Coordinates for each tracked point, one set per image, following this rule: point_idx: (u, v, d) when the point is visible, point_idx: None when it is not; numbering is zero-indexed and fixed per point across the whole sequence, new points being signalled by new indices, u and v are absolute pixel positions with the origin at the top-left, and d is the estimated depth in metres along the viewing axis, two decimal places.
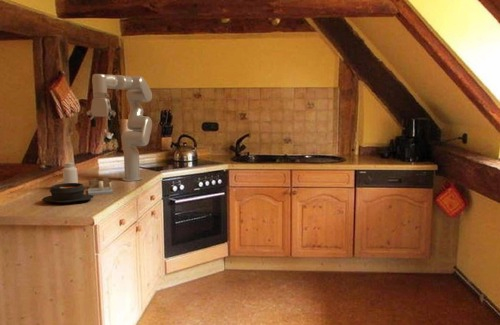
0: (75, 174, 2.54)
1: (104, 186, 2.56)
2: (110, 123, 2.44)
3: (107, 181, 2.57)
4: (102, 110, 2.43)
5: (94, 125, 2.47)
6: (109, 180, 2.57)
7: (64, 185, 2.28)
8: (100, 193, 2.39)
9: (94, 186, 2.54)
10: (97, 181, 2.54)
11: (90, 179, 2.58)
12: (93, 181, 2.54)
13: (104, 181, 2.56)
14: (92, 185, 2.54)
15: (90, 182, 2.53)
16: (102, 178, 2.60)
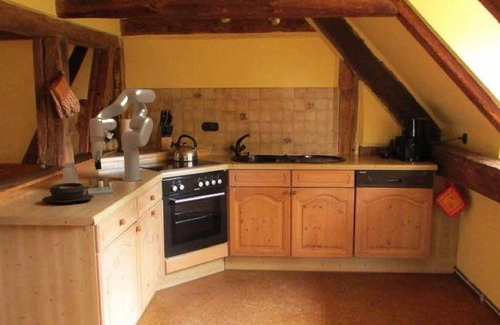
0: (75, 174, 2.54)
1: (104, 186, 2.56)
2: None
3: (107, 181, 2.57)
4: None
5: None
6: (109, 180, 2.57)
7: (64, 185, 2.28)
8: (100, 193, 2.39)
9: (94, 186, 2.54)
10: (97, 181, 2.54)
11: (90, 179, 2.58)
12: (93, 181, 2.54)
13: (104, 181, 2.56)
14: (92, 185, 2.54)
15: (90, 182, 2.53)
16: (102, 178, 2.60)
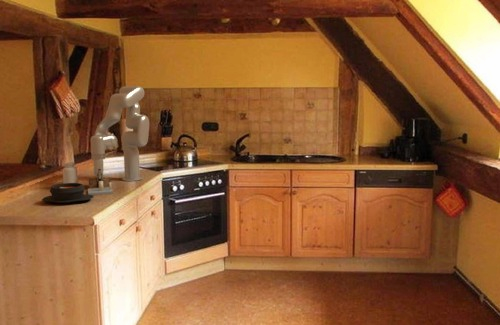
0: (75, 174, 2.54)
1: (104, 186, 2.56)
2: None
3: (107, 181, 2.57)
4: None
5: None
6: (109, 180, 2.57)
7: (64, 185, 2.28)
8: (100, 193, 2.39)
9: (94, 186, 2.54)
10: None
11: (90, 179, 2.58)
12: (93, 181, 2.54)
13: (104, 181, 2.56)
14: (92, 185, 2.54)
15: (90, 182, 2.53)
16: (102, 178, 2.60)
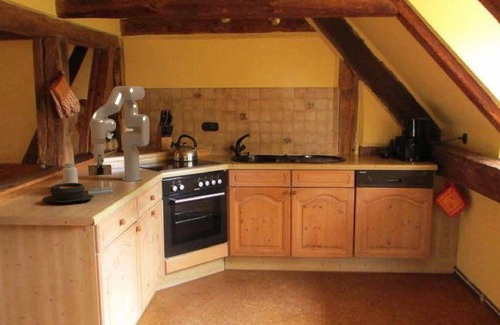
0: (75, 174, 2.54)
1: (104, 173, 2.41)
2: None
3: (108, 168, 2.42)
4: None
5: None
6: (110, 167, 2.42)
7: (64, 185, 2.28)
8: (100, 193, 2.39)
9: (94, 173, 2.39)
10: (97, 167, 2.39)
11: (90, 166, 2.43)
12: (93, 167, 2.39)
13: (104, 168, 2.41)
14: (92, 172, 2.39)
15: (90, 168, 2.38)
16: None
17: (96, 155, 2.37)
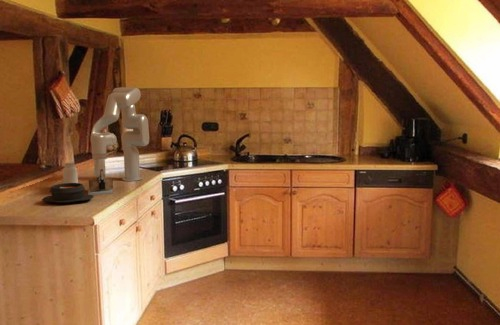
0: (75, 174, 2.54)
1: (106, 187, 2.43)
2: None
3: (109, 182, 2.43)
4: None
5: None
6: (111, 181, 2.44)
7: (64, 185, 2.28)
8: (100, 193, 2.39)
9: (95, 188, 2.41)
10: None
11: (90, 180, 2.44)
12: (94, 182, 2.40)
13: (106, 182, 2.43)
14: (93, 187, 2.40)
15: (91, 183, 2.39)
16: None
17: (98, 170, 2.38)
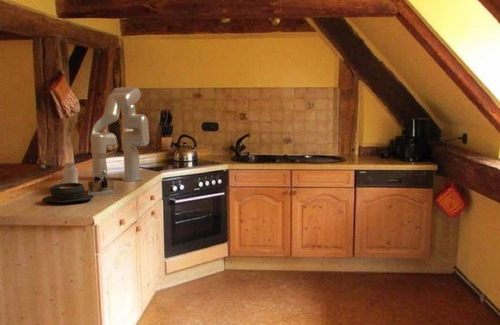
0: (75, 174, 2.54)
1: (107, 188, 2.44)
2: None
3: (110, 183, 2.45)
4: None
5: None
6: (112, 182, 2.46)
7: (64, 185, 2.28)
8: (100, 193, 2.39)
9: (98, 189, 2.40)
10: (100, 183, 2.41)
11: (90, 182, 2.43)
12: (96, 184, 2.40)
13: (107, 183, 2.44)
14: (96, 188, 2.40)
15: (94, 185, 2.39)
16: None
17: (100, 170, 2.38)
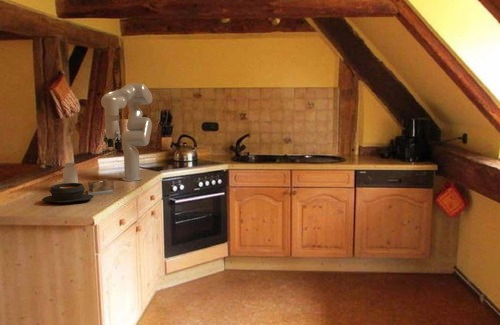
0: (75, 174, 2.54)
1: (107, 188, 2.44)
2: None
3: (110, 183, 2.45)
4: None
5: None
6: (112, 182, 2.46)
7: (64, 185, 2.28)
8: (100, 193, 2.39)
9: (98, 189, 2.40)
10: (100, 183, 2.41)
11: (90, 182, 2.43)
12: (96, 184, 2.40)
13: (107, 183, 2.44)
14: (96, 188, 2.40)
15: (94, 185, 2.39)
16: (102, 180, 2.47)
17: (113, 131, 2.45)
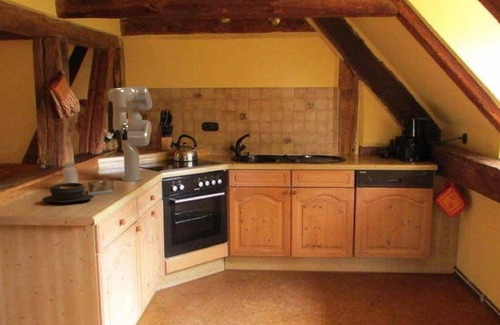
0: (75, 174, 2.54)
1: (107, 188, 2.44)
2: None
3: (110, 183, 2.45)
4: None
5: None
6: (112, 182, 2.46)
7: (64, 185, 2.28)
8: (100, 193, 2.39)
9: (98, 189, 2.40)
10: (100, 183, 2.41)
11: (90, 182, 2.43)
12: (96, 184, 2.40)
13: (107, 183, 2.44)
14: (96, 188, 2.40)
15: (94, 185, 2.39)
16: (102, 180, 2.47)
17: (121, 123, 2.50)
